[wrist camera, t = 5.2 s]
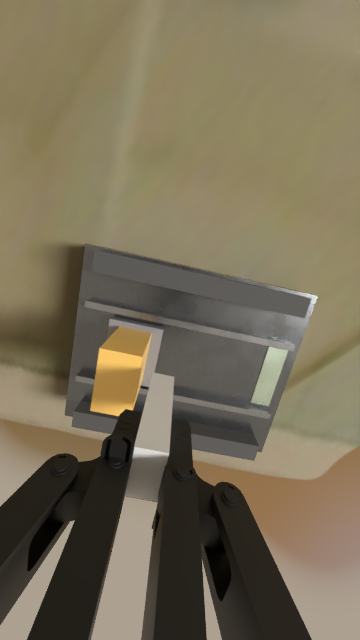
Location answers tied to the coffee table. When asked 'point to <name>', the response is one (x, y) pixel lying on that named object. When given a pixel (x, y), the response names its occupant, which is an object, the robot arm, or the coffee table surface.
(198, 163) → the coffee table surface
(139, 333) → the handle
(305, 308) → the pair of guide rails
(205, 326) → the grey rail base
